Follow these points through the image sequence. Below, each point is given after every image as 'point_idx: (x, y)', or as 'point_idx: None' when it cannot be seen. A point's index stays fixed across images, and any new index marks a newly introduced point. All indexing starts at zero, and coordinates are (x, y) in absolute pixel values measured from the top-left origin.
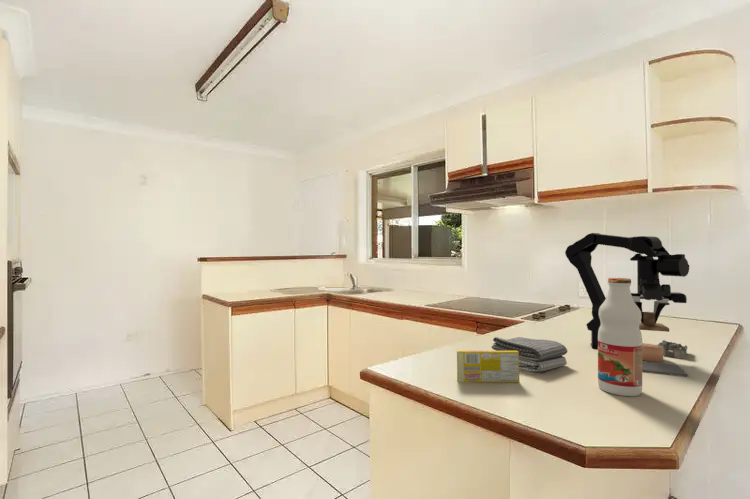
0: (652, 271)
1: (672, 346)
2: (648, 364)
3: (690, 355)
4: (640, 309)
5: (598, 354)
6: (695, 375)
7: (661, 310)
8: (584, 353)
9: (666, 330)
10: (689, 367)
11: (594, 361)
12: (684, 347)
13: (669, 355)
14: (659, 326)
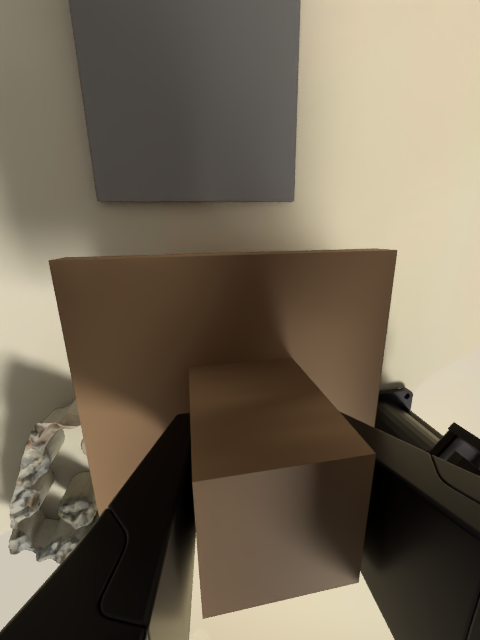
0: None
1: (81, 501)
2: (240, 136)
3: (16, 477)
4: (474, 508)
5: None
6: (25, 24)
7: (33, 599)
8: (459, 282)
9: (91, 257)
10: (41, 217)
11: (458, 136)
12: (20, 467)
13: None
14: (147, 361)
